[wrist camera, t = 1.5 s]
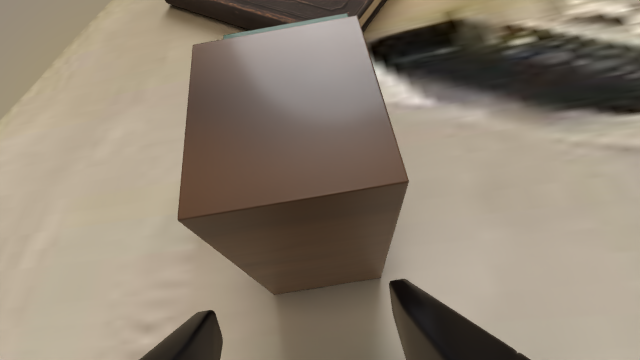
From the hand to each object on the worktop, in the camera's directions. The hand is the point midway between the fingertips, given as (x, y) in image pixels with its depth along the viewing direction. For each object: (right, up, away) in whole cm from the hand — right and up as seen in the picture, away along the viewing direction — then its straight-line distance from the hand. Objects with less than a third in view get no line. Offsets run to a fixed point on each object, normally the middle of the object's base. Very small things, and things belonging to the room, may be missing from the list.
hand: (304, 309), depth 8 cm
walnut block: (0, 0, +14) cm, 14 cm away
